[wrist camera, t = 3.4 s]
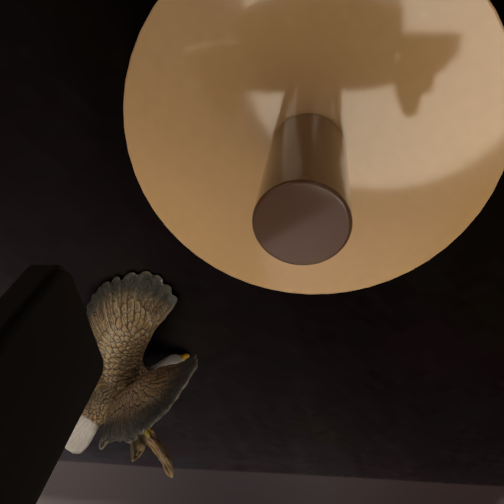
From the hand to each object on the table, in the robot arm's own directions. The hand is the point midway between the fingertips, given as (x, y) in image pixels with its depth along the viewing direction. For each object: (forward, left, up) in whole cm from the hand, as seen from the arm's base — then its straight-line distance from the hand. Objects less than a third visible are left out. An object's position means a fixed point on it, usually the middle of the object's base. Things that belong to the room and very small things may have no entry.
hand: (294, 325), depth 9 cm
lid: (0, 0, -9) cm, 9 cm away
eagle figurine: (+14, +2, -10) cm, 17 cm away
